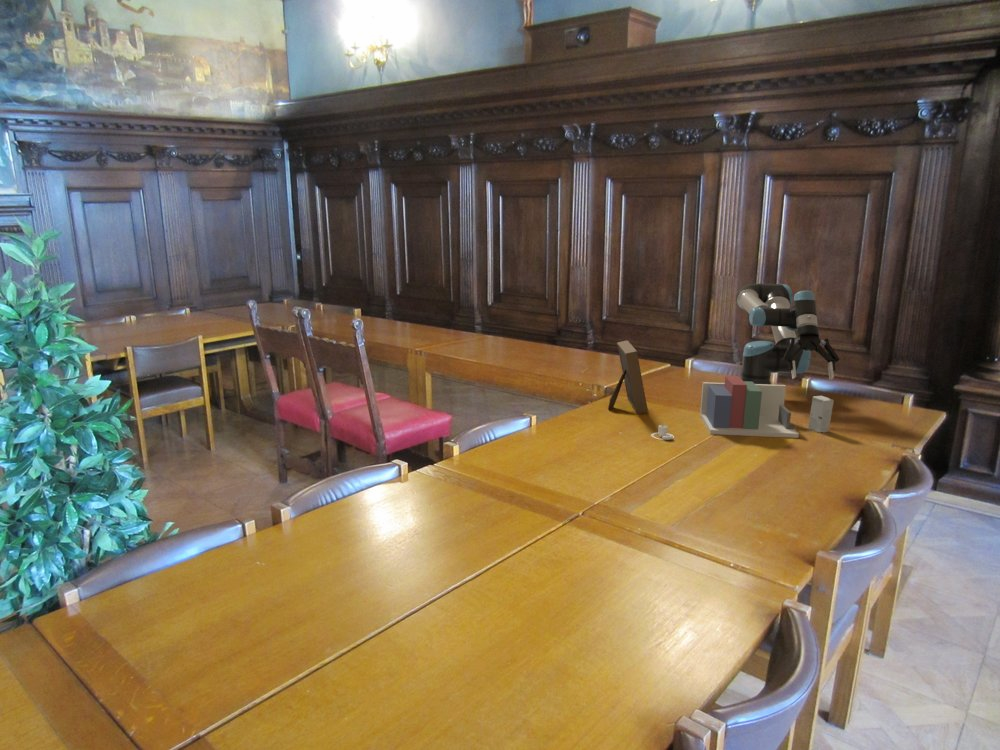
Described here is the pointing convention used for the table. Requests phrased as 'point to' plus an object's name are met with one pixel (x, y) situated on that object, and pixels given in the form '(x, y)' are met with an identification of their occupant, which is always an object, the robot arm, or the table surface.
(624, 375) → the photo frame
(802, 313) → the robot arm
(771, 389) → the book shelf
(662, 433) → the coiled charger cable
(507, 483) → the table surface
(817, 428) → the skincare box
